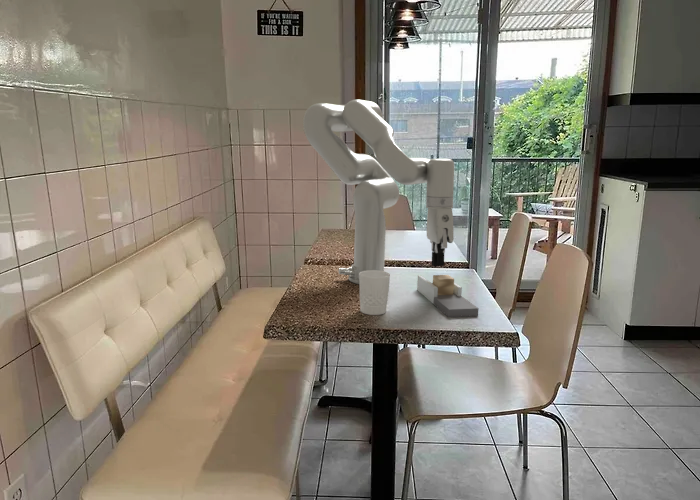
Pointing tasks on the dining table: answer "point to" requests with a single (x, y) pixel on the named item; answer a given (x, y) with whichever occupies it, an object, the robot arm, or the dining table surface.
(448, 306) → the channel
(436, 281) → the maple block
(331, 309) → the dining table surface
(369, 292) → the white cup
